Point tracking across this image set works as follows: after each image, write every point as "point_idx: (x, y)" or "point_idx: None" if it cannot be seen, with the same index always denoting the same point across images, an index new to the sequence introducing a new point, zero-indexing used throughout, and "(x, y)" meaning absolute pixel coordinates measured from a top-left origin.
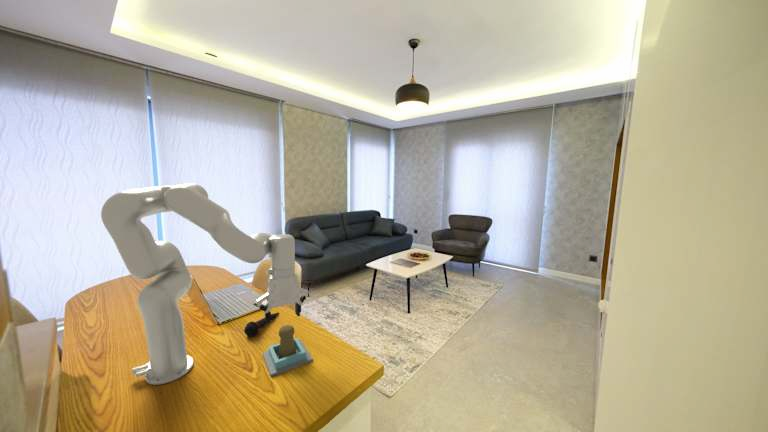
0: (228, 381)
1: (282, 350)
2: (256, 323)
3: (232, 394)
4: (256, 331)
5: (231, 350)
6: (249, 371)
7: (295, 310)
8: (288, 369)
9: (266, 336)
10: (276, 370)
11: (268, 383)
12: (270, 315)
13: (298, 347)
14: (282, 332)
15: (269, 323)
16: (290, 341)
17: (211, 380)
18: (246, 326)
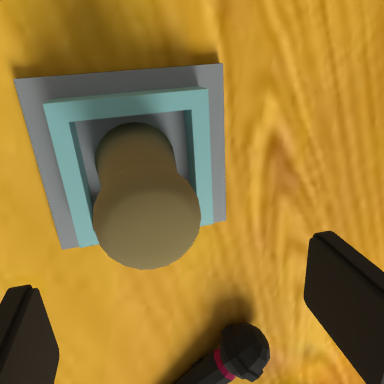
0: (345, 116)
1: (167, 151)
2: (232, 371)
3: (351, 36)
4: (229, 336)
5: (304, 270)
6: (279, 138)
7: (51, 376)
8: (144, 69)
9: (193, 312)
10: (196, 79)
11: (234, 24)
12: (376, 288)
13: (80, 170)
14: (185, 193)
15: (325, 232)
16: (126, 162)
17: (380, 147)
18: (268, 359)
